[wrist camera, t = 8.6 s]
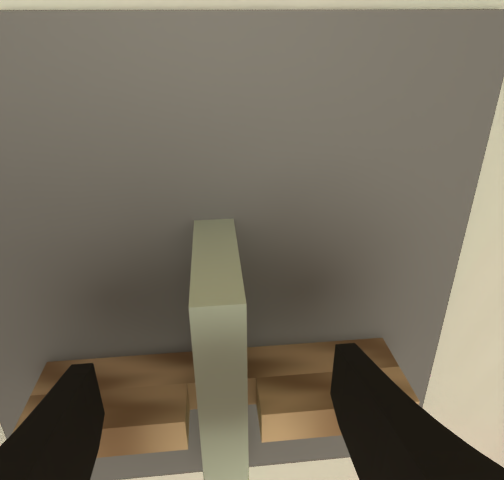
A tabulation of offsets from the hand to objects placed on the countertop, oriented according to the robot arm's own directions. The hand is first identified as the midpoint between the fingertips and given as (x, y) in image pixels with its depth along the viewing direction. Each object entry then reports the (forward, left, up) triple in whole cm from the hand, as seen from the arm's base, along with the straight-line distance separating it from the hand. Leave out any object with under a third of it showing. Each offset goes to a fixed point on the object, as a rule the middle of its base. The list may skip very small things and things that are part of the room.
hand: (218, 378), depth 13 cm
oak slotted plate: (0, -5, -6) cm, 8 cm away
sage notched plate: (0, -4, -6) cm, 8 cm away
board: (0, -2, -7) cm, 7 cm away
